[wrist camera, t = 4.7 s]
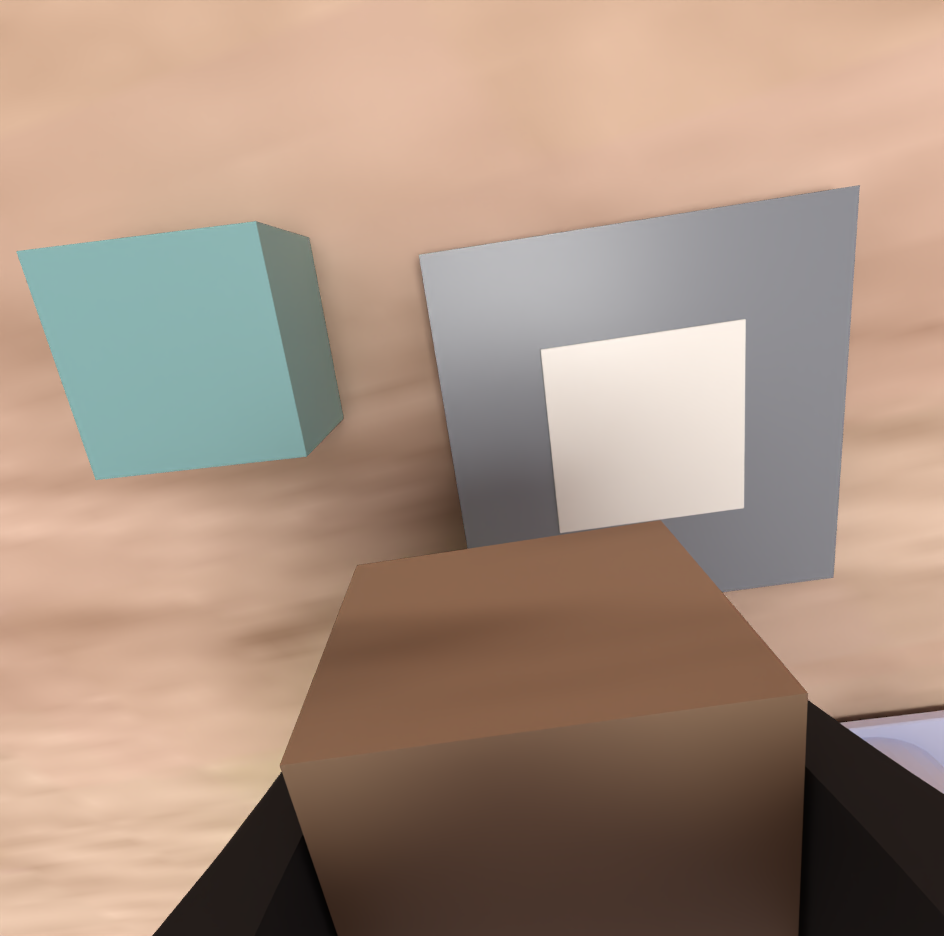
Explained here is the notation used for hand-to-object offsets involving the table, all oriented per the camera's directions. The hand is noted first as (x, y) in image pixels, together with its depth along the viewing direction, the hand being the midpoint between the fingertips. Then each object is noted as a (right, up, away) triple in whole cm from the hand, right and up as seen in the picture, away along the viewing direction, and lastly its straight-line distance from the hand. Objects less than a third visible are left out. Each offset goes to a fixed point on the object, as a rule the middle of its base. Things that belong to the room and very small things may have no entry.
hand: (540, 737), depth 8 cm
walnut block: (0, +1, +1) cm, 2 cm away
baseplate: (+4, +5, +8) cm, 11 cm away
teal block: (-8, +8, +7) cm, 13 cm away
